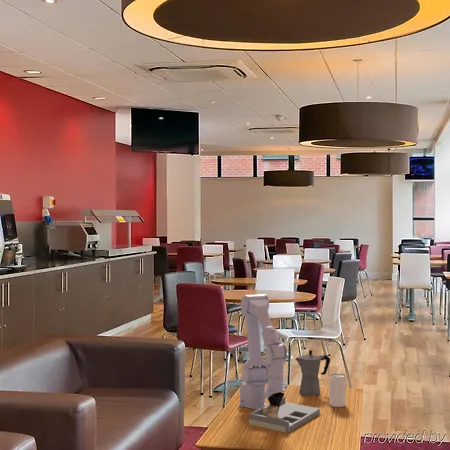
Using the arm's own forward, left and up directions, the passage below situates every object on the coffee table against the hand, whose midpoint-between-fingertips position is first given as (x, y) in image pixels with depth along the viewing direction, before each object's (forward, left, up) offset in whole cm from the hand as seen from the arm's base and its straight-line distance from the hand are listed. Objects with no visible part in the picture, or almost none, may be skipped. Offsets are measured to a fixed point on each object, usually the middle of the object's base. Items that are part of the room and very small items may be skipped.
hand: (274, 412), depth 274 cm
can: (+11, +31, -3) cm, 33 cm away
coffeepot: (-5, +41, -3) cm, 41 cm away
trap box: (+2, +4, -3) cm, 5 cm away
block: (0, -3, -1) cm, 4 cm away
